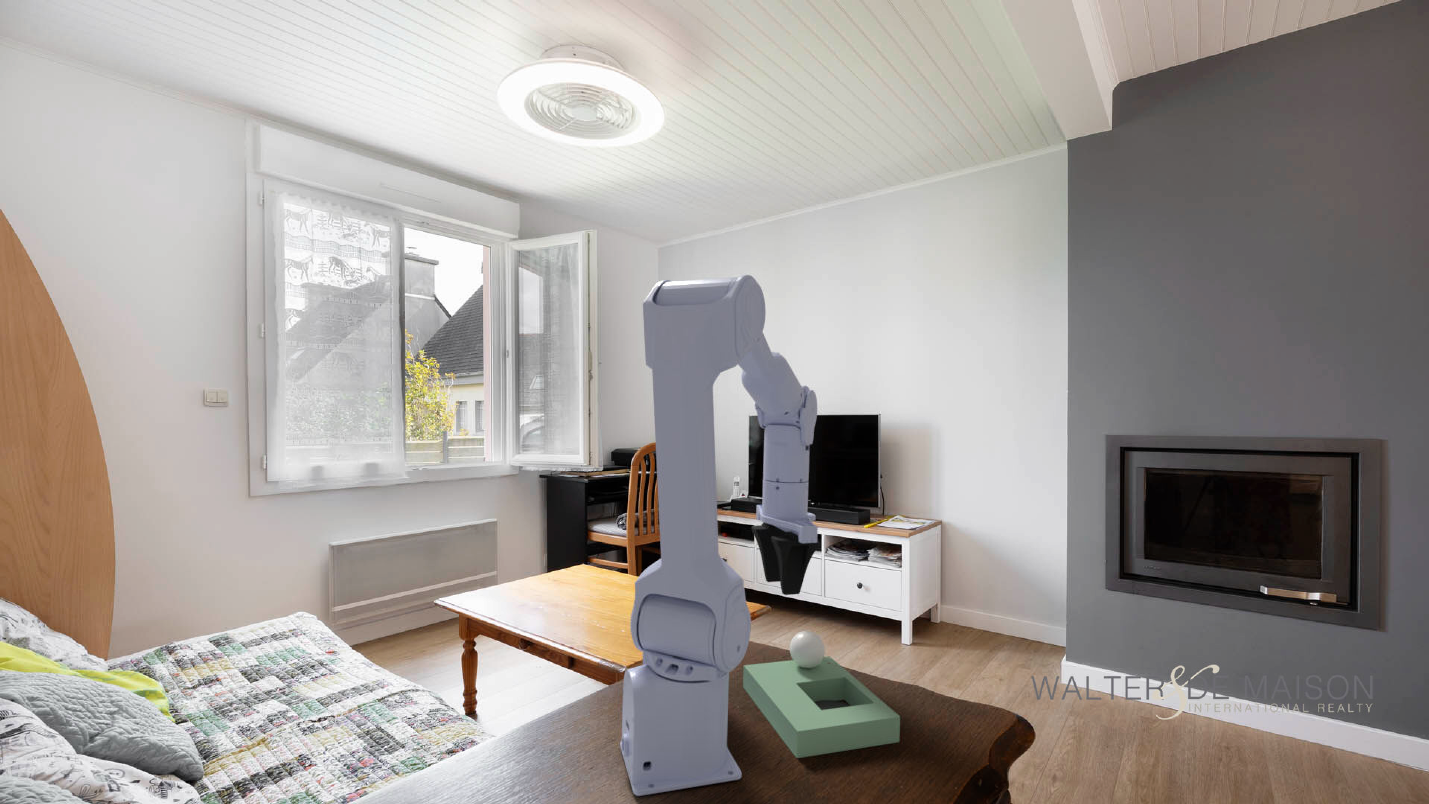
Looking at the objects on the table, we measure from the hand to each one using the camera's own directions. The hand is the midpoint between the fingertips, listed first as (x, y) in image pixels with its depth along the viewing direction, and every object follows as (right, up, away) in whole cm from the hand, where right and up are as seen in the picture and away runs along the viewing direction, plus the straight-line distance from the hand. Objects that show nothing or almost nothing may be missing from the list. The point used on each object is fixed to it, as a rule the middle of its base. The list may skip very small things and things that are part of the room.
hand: (782, 587), depth 79 cm
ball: (+2, -5, -7) cm, 9 cm away
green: (+2, -10, -13) cm, 16 cm away
